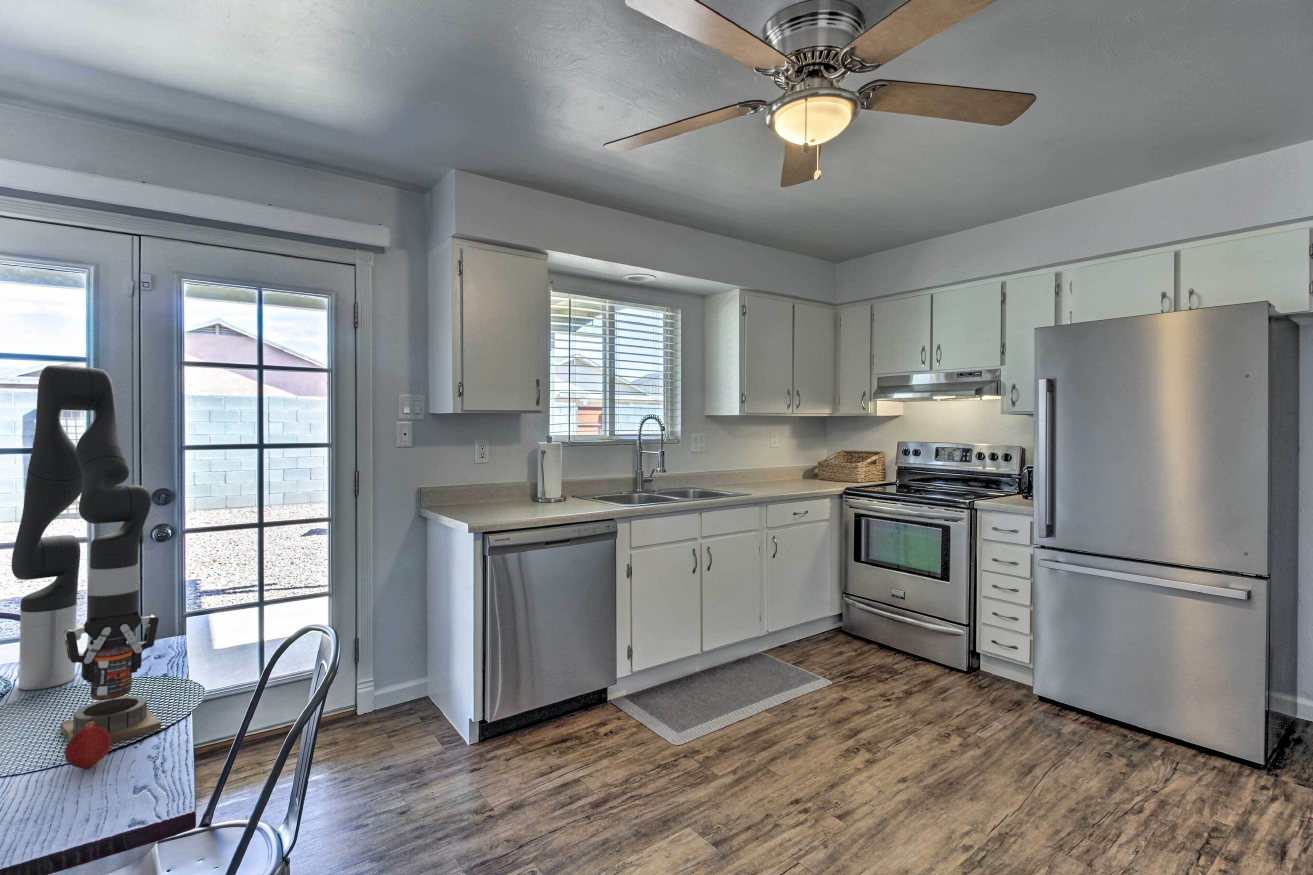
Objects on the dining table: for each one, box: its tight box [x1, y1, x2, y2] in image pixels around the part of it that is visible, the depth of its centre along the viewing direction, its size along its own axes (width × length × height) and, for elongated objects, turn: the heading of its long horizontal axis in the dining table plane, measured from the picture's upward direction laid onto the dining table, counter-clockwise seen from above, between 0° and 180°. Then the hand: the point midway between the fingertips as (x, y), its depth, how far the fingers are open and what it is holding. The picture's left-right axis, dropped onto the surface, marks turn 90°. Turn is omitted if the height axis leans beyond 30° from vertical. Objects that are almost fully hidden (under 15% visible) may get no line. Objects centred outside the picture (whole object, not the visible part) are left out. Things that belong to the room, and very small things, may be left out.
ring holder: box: [59, 695, 162, 745], centre depth 120 cm, size 14×12×4 cm
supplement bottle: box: [90, 636, 133, 701], centre depth 120 cm, size 6×6×11 cm
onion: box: [64, 721, 112, 770], centre depth 106 cm, size 6×6×8 cm
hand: (111, 676), depth 120 cm, fingers closed on supplement bottle, 6 cm apart
